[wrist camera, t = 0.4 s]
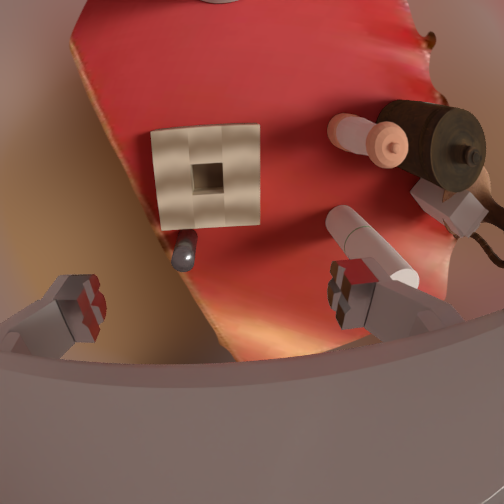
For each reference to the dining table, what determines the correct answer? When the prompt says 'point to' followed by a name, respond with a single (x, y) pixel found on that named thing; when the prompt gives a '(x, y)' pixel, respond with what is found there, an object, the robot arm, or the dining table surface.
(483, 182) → the pitcher
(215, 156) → the socket block
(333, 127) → the pepper shaker
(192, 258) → the pin
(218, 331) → the dining table surface
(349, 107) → the dining table surface
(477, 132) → the wooden container
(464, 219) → the milk carton
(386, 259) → the cylindrical container
